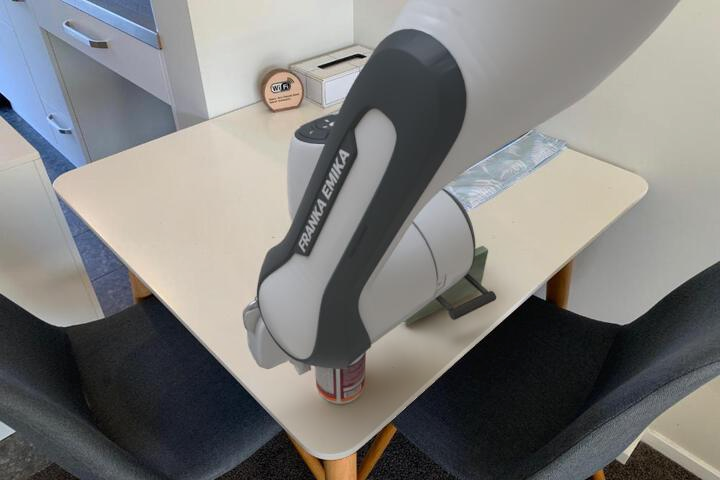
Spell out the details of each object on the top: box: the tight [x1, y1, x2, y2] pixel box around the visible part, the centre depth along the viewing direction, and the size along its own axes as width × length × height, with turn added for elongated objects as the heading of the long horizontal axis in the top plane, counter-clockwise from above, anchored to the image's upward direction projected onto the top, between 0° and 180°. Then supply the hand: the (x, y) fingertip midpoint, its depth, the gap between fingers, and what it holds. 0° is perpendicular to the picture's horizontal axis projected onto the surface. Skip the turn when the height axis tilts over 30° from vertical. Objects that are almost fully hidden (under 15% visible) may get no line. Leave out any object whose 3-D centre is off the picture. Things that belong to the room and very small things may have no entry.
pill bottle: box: [314, 351, 367, 405], centre depth 62 cm, size 6×6×11 cm
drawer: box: [403, 245, 497, 326], centre depth 75 cm, size 19×13×8 cm
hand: (338, 352), depth 62 cm, fingers open, 8 cm apart
